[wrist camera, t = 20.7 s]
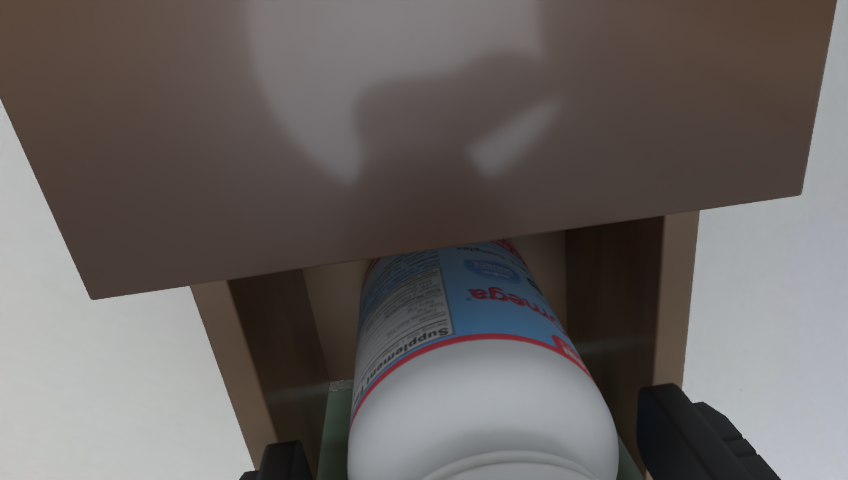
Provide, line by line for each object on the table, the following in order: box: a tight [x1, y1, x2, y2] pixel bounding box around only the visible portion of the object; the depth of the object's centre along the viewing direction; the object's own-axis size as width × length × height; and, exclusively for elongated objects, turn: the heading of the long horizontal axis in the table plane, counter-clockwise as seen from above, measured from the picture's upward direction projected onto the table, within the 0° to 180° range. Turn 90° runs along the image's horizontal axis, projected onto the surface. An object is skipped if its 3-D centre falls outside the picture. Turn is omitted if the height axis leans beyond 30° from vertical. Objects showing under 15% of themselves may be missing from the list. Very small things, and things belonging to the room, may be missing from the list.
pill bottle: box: [347, 239, 619, 480], centre depth 13 cm, size 6×6×11 cm
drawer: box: [190, 210, 700, 480], centre depth 16 cm, size 20×12×8 cm, turn 7°
